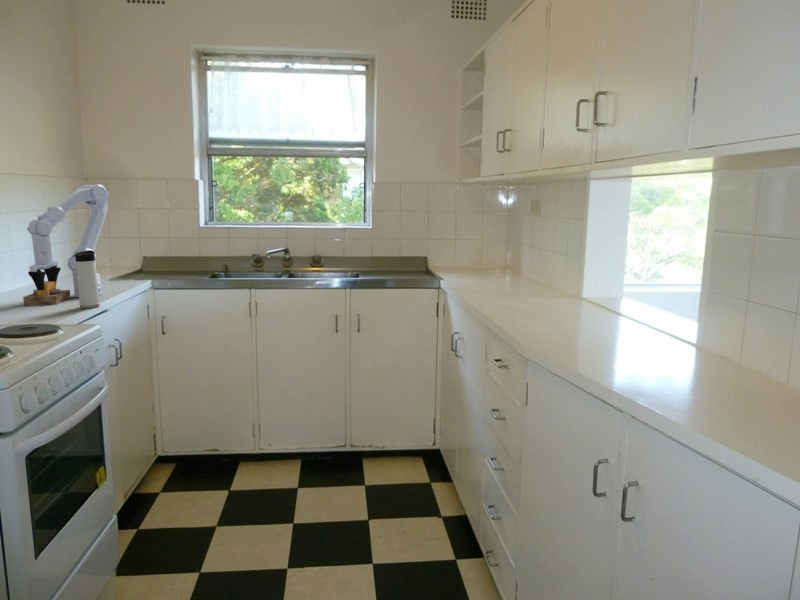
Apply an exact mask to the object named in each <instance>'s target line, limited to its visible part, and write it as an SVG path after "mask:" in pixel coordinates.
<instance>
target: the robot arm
mask: <svg viewBox="0 0 800 600" xmlns="http://www.w3.org/2000/svg"><path fill="white" fill-rule="evenodd" d="M109 195H110V194H109V193H108V190H107V189H106V188H105V186H104V185H102V184H83V185H81V186H80V187H78V188H76V189H75V191H74V192H72V194H71V195H69V196H68V197H67V198H66V199H65V200H64V201H63V202H62V203H61V204H59V205H58V206H56V205H54V206H49V207H47V210H46V211H45V212H44V213H43V214H40V215H38V216H37V219H33V220H31V221H30V222H29V223H28V226H27V228H26V229H27V231H28V234H30V235H31V240H32V249H33V257H34V258H33V259H34V264H32V265H30V266H29V267H28V268H29V271H28V272H27V273H28V276H30V278H31V279H32V281H33V283H34V285H35V288H36V290H44V282H45V277H46V279H47V281H53V282H55V283H56V284H57V281H58V277H59V274H60V272H61V269H62V268H61V266H60V267H59V262H58V261H53V253H52V245H51V235H50V234H52V232H53V229H54V228H55V227H56V226H58V225H59V224H60V223H61V222H62V221H63V220H65V219H66V213H68V212H69V211H71V210H72V209H74V208H75V207H76V206H77V205H79V204H81V203H82V202H84V203H86V204H87V206H88V207H89V208H90V211H91V212H90V215H89V218H88V220H87V223H86V226H85V230H84V232H83V235H82V238H81V241H80V244H79V246H78V247H77V248H76V249H75V250H74V251H73V254H72V255H71V256H70V257H69V258H68V261H67V267H68V269H69V270H70V271H71V273H72V283H73V292H74V294H72V295H70V297H71V298H79V292H78V282H77V272H76V262H75V261H76V260H75V259H76V258H75V253H78V252H83V251H87V250H92V251H94V252H95V250H96V247H97V244H98V241H99V237H100V235H101V232H102V229H103V227H104V223H105V221H106V218H107V214H108V210H109V206H108V205H109V204H108V198H109ZM96 259H97V254H96V253H95V262H96V263H97V261H96ZM97 283H98V293H99V296H100V295H102V294H103V291H102V290H103V289H102V279H101V275H100V273H97Z"/></svg>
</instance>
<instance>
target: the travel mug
mask: <svg viewBox="0 0 800 600" xmlns="http://www.w3.org/2000/svg"><path fill="white" fill-rule="evenodd" d="M95 254H96V253H95V250H94V251H92V250H87V251H83V252H78V253H75V258H76V259H75V260H76V261H75V262H76V272H77V282H78V292H79V297H78V301H79V307H80V309H84V310H86V309H88V310H89V309H96V308H99V307H100V306H101V303H100V295H99V293H98V283H97V261H96V262H95Z"/></svg>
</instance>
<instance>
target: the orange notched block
mask: <svg viewBox="0 0 800 600" xmlns="http://www.w3.org/2000/svg"><path fill="white" fill-rule="evenodd" d="M51 289H57V283H55V282H53V281H48V280H47V281H45V280H44V290H37V289H36V290H37V295H53V294H55V293H49V290H51Z"/></svg>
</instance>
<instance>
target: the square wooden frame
mask: <svg viewBox="0 0 800 600" xmlns="http://www.w3.org/2000/svg"><path fill="white" fill-rule="evenodd" d="M32 292H33V293H31V294H28V295H25V296H23V297H22V298H23V300H22V301H23V306H42V305H47V306H48V305H58V304H61V303H62V302H64V301H66V300H68V299H70V298H72V297H71V290H69V289H63V290H62V289H61V288H56V289H51V290H49V293H55V294H53V295H37V289H33V290H32Z"/></svg>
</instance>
